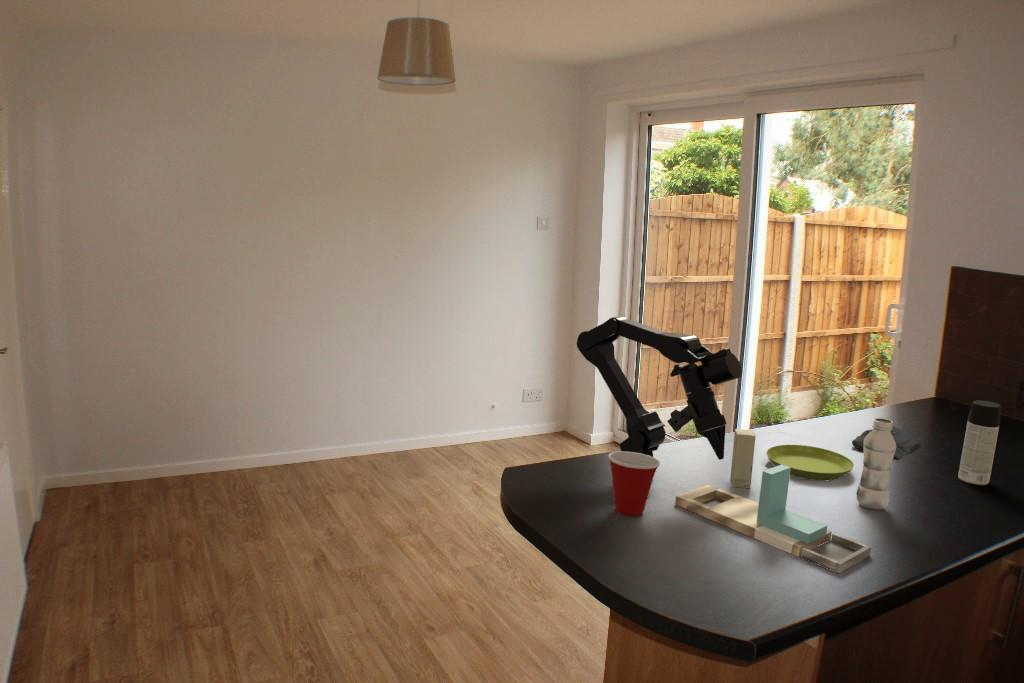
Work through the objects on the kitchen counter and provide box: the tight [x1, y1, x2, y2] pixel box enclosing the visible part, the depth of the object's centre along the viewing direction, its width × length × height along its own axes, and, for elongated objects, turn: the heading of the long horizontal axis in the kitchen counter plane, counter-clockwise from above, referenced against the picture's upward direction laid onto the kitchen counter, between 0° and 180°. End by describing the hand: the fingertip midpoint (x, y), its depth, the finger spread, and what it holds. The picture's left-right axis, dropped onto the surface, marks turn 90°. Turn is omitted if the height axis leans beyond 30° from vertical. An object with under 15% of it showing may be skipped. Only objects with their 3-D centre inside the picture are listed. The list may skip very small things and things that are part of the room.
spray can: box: [957, 399, 1002, 486], centre depth 182 cm, size 7×7×20 cm
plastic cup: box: [608, 450, 661, 518], centre depth 155 cm, size 11×11×12 cm
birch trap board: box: [674, 484, 872, 574], centre depth 151 cm, size 37×12×2 cm, turn 40°
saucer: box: [765, 444, 855, 481], centre depth 187 cm, size 21×21×3 cm
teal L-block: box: [756, 465, 828, 544], centre depth 145 cm, size 11×7×11 cm, turn 40°
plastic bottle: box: [856, 417, 896, 511], centre depth 163 cm, size 6×7×20 cm
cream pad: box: [753, 526, 799, 554], centre depth 147 cm, size 8×12×2 cm, turn 129°
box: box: [729, 428, 756, 489], centre depth 173 cm, size 5×4×13 cm
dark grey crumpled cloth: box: [851, 424, 922, 460], centre depth 209 cm, size 15×22×5 cm
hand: (721, 459), depth 161 cm, fingers closed
